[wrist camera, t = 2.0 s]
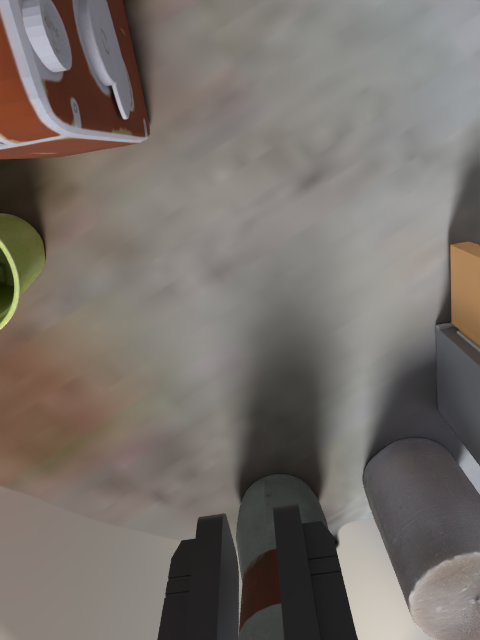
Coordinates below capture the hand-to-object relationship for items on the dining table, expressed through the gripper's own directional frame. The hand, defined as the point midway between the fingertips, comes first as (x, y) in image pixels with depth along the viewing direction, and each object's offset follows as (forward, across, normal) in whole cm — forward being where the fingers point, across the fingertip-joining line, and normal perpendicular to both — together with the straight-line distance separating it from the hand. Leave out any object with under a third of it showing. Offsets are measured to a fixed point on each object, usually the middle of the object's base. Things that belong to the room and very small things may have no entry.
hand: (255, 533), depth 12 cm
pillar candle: (+27, +13, -24) cm, 39 cm away
